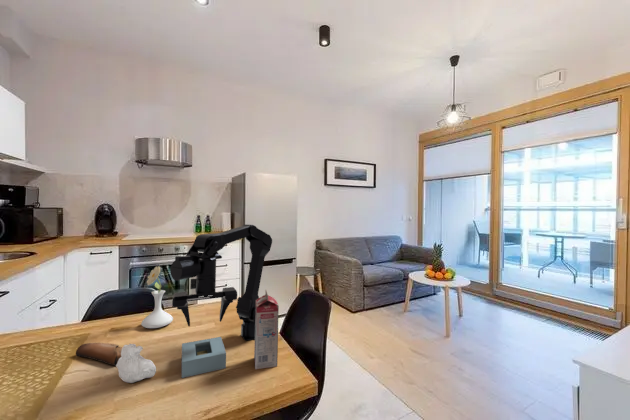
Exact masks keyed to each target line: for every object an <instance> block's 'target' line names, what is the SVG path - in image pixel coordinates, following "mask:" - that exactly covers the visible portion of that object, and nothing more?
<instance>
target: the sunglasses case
mask: <svg viewBox="0 0 630 420" xmlns="http://www.w3.org/2000/svg"><path fill="white" fill-rule="evenodd" d="M122 348H123V346H122V347H121V346H120V345H119V344H116V343H109V342H87V343H83V344H80V345H79V346H78V347H77V349H76V350H75V355H76V356H77V357H83V358H89V359H91V360H95V361H99V362H101V363H106V364H108V365H111V366H115V367H116V365H117V363H118V360H119V358H120V357H121V351H122Z"/></svg>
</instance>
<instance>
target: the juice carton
mask: <svg viewBox="0 0 630 420" xmlns="http://www.w3.org/2000/svg"><path fill="white" fill-rule="evenodd" d="M278 346H279V304H278V301H277V299H276V298H275V297H273V296H271V295H269V294H268V292H267V290H265V294H264V295H262V296H260V297H259V298H258V299H257V300H256V307H255V339H254V351H253V352H254V354H253V357H254V369H255V370H261V369H265V368H275V367H276V368H277V367H278V355H279V354H278V349H279V347H278Z"/></svg>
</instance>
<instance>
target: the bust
mask: <svg viewBox="0 0 630 420" xmlns="http://www.w3.org/2000/svg"><path fill="white" fill-rule="evenodd" d="M143 350H144V349H143V346H142V345H136V344H135V343H129V344H124V345H123V346H122V351H121V357H120V358H119V360H118V363H117V365H116V366H115V367H116V368H117V371H118V377H119V378H120V379H121V380H122V381H123V382H125V383H128V384H129V383H130V384H133V383H136V382H140V381H142V380H143V379H149V378H153V377H154V376H155V374H156V373H157V368H156V365H155V364H154V362H153V361H152V360H151V359H147V358H145V357H144V356H142V355H141V351H143Z"/></svg>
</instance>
